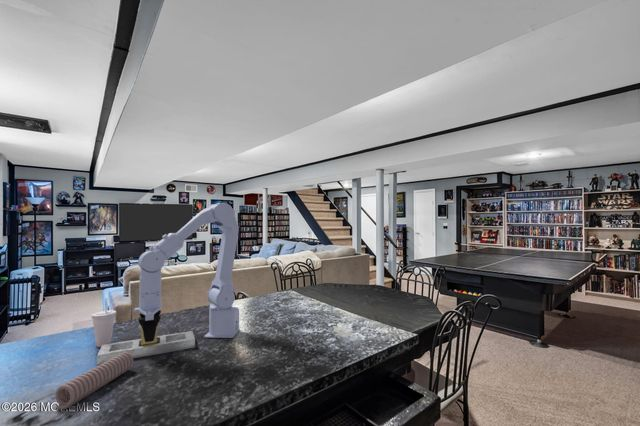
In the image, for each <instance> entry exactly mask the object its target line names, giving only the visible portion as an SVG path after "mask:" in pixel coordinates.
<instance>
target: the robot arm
mask: <svg viewBox="0 0 640 426" xmlns="http://www.w3.org/2000/svg"><path fill="white" fill-rule="evenodd" d="M211 223H212V224H214V225H216V226H217V228H218V229H219V230H220V231H221V232H222V233H221V240H220V245H219V252H218V258H217V265H216V271H215V277H214V279H213V280H212V281H211V285H210V288H209V290H208V291H207V293H206V298H207V301H208V302H209V303H210V305H209V307H208V308H209V309H208V310H209V315H208V319H209V320H208V321H209V322H208V323H209V325H208V326H209V327H208V330H209V331H208V332H207V333H206V334H204V336H203V337H204V338H206V339H207V338H213V339H214V338H215V339H216V338H217V339H220V338H224V339H228V338H229V339H231V338H234V337H235V336H236V335H237V334H238V332H240V309H239V307H237V306H236V307H234V306H233V304H234V302H235V298H236V297H235V293H234V288H235V287H234V286H235V285H234V282H233V280H232V278H233V277H232V276H233V270H234V269H233V268H234V264H235V263H234V262H235V256H236V250H237V245H238V244H237V243H238V238H239V230H240V229H239V228H240V227H239V224H238V221H237V218H236V211H235V210H234V208H232V206H231V205H230V204H228V203H227V202H220V203H212V204H209V205H207V207H206V208H204V209H202V210H200V212H198V213H197V214H195V216H194V217H192V218H191V219H190V220H189V221H188V222H187V223H186V224H185V225H184V226H182V227H181V228H180V229H179V230H178V231H177V232H170V233H168V234H167V233H165V234H164V235H163V234H162V237H161V238H162V239H160V240H159V241H158V242H157V243H156V244H154V245H151V246H149V247H148V249H149V250H148V251H144V252H143V253H141V254H140V256H139V258H138V260H137V264H138V267H139V268H140V269H139V270H140V271H139V284H138V285H139V286H138V287H139V288H138V289H139V290H138V291H139V292H138V293H139V295H138V301H139V302H138V307H135V308H134V309H133V311H134V312H135V313H138V312H139V316H140V317H138V319H137V320H138V323H139V324H140V325H141V327H142V329H143V334H144V339H145V342H150V341H154V338H155V333H156V328H157V325H158V323H160V320H161V319H162V316H161V312H162V311H161V310H162V309H163V305H162V278H163V277H162V268H163V267H164V265H165V261H166V262H167V261H168V260H169V259H170V258H171V257H172V256H174V254H176V253H177V252H178V251H179V250H180V249H182V248H183V247H184V241H185V240H186V239H187V238H189V237H190V236H192V234H194V233H196V231H198V230H199V229H200V228H201V227H203V226H204V225H206V224H211Z"/></svg>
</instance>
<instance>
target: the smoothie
mask: <svg viewBox="0 0 640 426" xmlns="http://www.w3.org/2000/svg"><path fill="white" fill-rule="evenodd" d="M104 301H105V302H104V310H100V311H97V312H94V313H92V314H91V317H90V318H91V320H92V325H93V332H94V334H93V335H94V341H95V346H96V348H101V346H102V345H104V344H111V343H112V337H113V330H114V325H115V324H114V323H115V319H116V316H117V311H116V310H113V309H111V310H109V309H108V298H106V297H105V299H104Z"/></svg>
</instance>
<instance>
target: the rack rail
mask: <svg viewBox="0 0 640 426" xmlns="http://www.w3.org/2000/svg"><path fill="white" fill-rule="evenodd" d="M195 347H196V339H195V335H194V332H193V330H189V331H188V330H187V331H182V332H176V333H170V334H164V335H157V344H152V345H146V346H141V338H137V339H131V340H125V341H118V342H111V344H104V345H102V346H101V347H99V348H100V349H99V350H98V352H97V355H96V356H97V357H96V358H97V359H96V365H97V366H98V365H101V364H102V363H104V362H106V361H108V360H109V359H111V358H113V357H115V356H117V355H119V354H121V353H122V352H128V353H130V354H131V355H132V357H133V359H137V358H143V357H148V356H153V355H154V356H155V355H160V354H165V353H171V352H177V351H182V350H187V349H193V348H195Z"/></svg>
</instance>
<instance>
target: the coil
mask: <svg viewBox="0 0 640 426" xmlns="http://www.w3.org/2000/svg"><path fill="white" fill-rule="evenodd" d="M133 365H134V358H133V357H132V355H131V354H130V353H128V352H122V353H121V354H119V355H117V356H115V357H113V358H111V359H109V360H108V361H106V362H104V363H102V364H99V365H97V366H95V367H93V368H91V369H89V370H87V371H85V372H84V373H81V375H78V376H77V377H75V378H72V379H71V380H68V381H67V382H65V383H63V384H61V385H59V386H58V388H57V389H56V390H55V394H54V395H55V397H54V398H55V400H56V402H57V404H58V405H57V407H56V409H57V410H59V409H64V410H68V409H69V408H71V407H73V406H74V405H75V404H77V403H79V402H80V401H82V400H83V399H85V398H87V397H88V396H90V395H92V393H95V392H96V391H98V390H99V389H100V388H103V387H104V386H106V385H107V384H109V383H110V382H112V381H114V380H115V379H116V378H118V377H120V376H122V375H123V374H125V373H126V372H128V371H130V370H131V369H132V367H133ZM67 408H68V409H67Z"/></svg>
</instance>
